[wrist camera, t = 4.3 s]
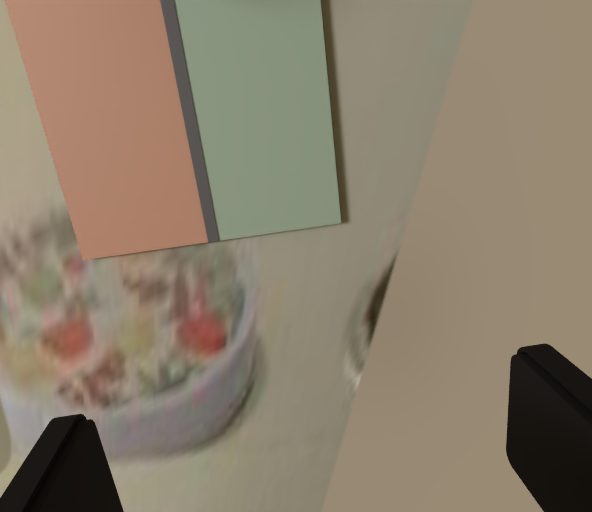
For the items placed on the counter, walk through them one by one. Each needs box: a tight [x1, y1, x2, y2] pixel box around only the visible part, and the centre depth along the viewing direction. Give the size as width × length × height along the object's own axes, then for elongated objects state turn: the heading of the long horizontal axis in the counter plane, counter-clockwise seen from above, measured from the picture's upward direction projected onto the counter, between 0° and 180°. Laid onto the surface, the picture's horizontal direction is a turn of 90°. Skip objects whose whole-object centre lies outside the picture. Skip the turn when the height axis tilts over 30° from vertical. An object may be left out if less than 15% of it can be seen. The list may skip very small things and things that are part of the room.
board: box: [5, 0, 341, 260], centre depth 30 cm, size 18×19×1 cm
